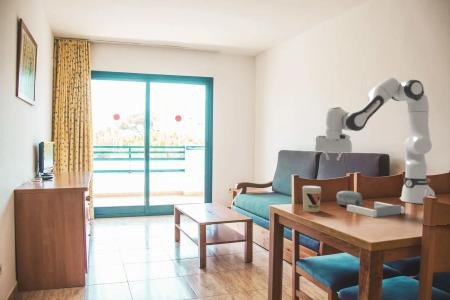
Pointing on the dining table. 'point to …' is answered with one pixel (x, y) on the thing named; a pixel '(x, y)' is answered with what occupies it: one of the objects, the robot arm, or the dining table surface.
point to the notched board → (377, 209)
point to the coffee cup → (311, 198)
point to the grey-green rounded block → (349, 198)
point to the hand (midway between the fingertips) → (332, 160)
